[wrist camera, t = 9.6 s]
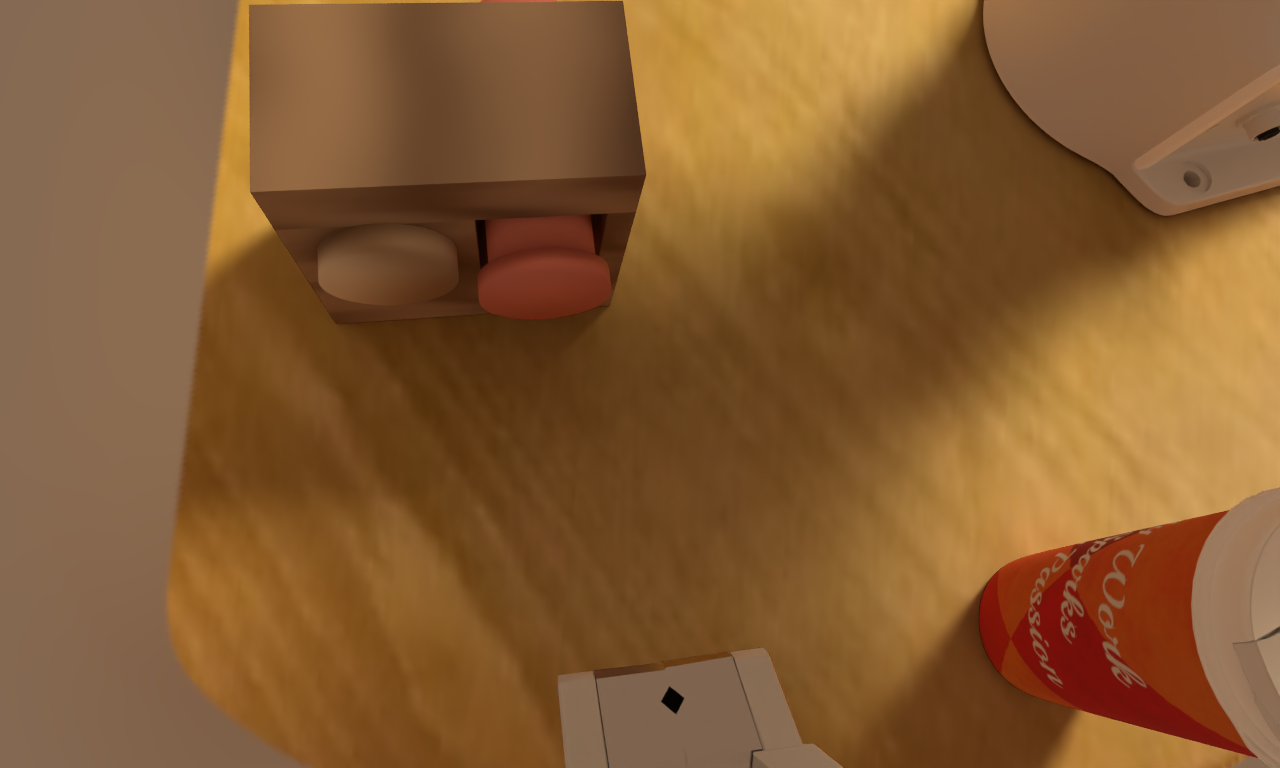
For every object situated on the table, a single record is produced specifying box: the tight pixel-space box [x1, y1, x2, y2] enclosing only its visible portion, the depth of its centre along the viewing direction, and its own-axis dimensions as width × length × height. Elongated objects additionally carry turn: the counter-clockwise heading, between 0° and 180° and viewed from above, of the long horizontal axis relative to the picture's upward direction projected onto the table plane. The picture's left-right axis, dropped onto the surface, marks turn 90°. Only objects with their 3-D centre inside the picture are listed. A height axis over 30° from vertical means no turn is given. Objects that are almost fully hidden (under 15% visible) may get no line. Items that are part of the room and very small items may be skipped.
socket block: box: [249, 1, 646, 324], centre depth 30 cm, size 11×7×11 cm, turn 97°
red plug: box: [477, 0, 611, 320], centre depth 29 cm, size 4×11×4 cm, turn 7°
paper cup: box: [979, 488, 1280, 768], centre depth 27 cm, size 8×8×14 cm
